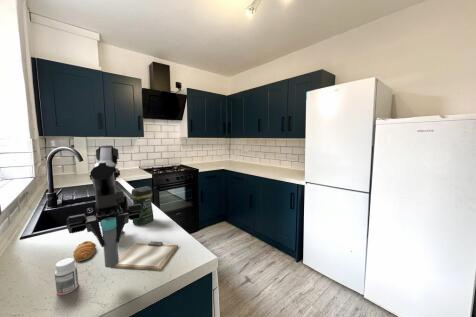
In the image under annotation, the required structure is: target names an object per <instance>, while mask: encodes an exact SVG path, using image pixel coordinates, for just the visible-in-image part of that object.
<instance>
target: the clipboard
mask: <svg viewBox="0 0 476 317" xmlns="http://www.w3.org/2000/svg"><path fill="white" fill-rule="evenodd" d="M178 248H179V244H169V243H168V244H166V243H164V242H163V241H153V240H151V241H149V243H148V242H147V243H146V242H145V243H144V242H135V243H134V244H133V245H132V246H130V247H129V248H128V249H127V250H126V251H125V252H123V254H121V255H120V256H119V263H118V264H117V265H116V266H113V267H112V268H117V269H131V270H134V269H135V270H145V271H146V270H148V271H159V272H160V271H162V270H163V268H164V267H165V266H166V264H167V263H168V261H170V259H171V257H172V256H173V255H174V254H175V253H176V251H177V250H178Z"/></svg>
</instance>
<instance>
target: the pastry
mask: <svg viewBox="0 0 476 317" xmlns="http://www.w3.org/2000/svg"><path fill="white" fill-rule="evenodd" d="M96 247H97V244H96V243H95V242H92V241H91V240H86V241H83V242H82V243H79V244H78V245H77V246H76V248H75V249H74V250H73V258H74V260H75V261H76V262H78V263H79V262H82V261H86V260H88V259H89V260H90V258H91V257H92V256H93V255H94V254H95V252H96Z"/></svg>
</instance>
